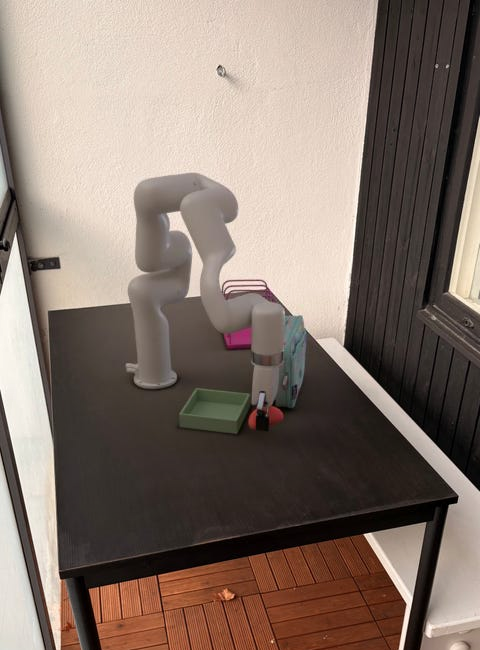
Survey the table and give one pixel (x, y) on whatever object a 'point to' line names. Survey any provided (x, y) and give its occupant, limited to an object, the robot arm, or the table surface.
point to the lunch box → (292, 362)
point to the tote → (215, 410)
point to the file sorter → (244, 336)
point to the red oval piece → (273, 414)
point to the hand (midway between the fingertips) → (265, 421)
